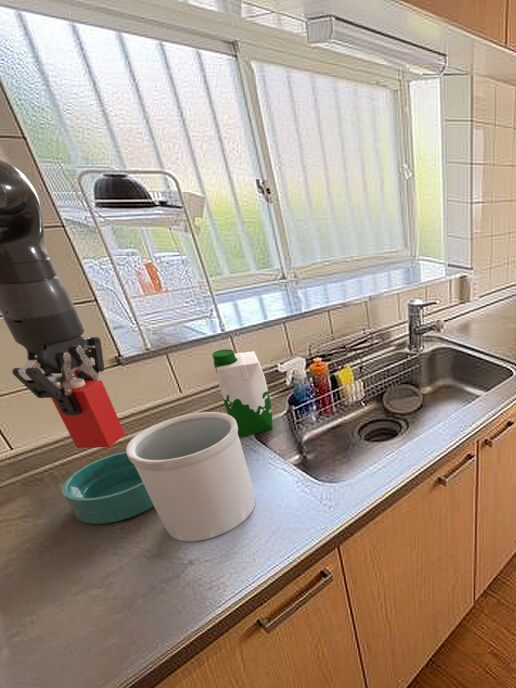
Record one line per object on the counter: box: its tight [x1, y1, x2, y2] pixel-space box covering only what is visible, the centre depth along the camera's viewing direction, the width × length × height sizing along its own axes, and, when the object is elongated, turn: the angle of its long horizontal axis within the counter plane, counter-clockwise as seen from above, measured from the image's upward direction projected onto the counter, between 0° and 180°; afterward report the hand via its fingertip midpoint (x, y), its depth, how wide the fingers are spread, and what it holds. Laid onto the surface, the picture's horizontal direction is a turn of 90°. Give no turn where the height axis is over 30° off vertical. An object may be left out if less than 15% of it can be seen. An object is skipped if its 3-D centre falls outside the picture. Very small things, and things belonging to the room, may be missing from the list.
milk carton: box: [212, 348, 273, 438], centre depth 98 cm, size 9×9×20 cm
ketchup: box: [50, 378, 126, 449], centre depth 71 cm, size 5×4×12 cm
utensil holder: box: [125, 411, 256, 542], centre depth 73 cm, size 15×15×18 cm
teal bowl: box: [61, 451, 154, 525], centre depth 78 cm, size 14×14×6 cm
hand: (85, 406), depth 70 cm, fingers closed on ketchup, 4 cm apart
